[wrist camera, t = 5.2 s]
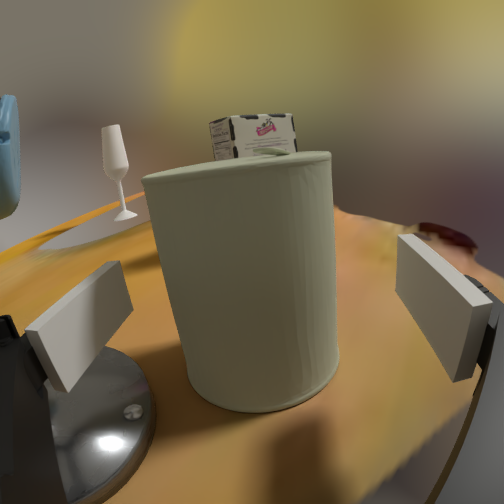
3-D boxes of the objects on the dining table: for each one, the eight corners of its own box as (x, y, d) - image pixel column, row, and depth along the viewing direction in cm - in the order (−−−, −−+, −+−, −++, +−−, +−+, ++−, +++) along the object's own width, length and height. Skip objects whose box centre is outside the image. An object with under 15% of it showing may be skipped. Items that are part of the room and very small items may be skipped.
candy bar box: (282, 222, 49) (270, 117, 44) (307, 226, 46) (295, 113, 40) (225, 243, 43) (207, 121, 37) (248, 248, 39) (230, 114, 34)
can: (364, 340, 18) (362, 139, 15) (274, 442, 12) (233, 151, 8) (255, 308, 25) (234, 150, 21) (159, 368, 18) (107, 174, 15)
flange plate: (-61, 478, 6) (-75, 462, 6) (18, 357, 19) (11, 343, 19) (137, 549, 7) (122, 538, 6) (170, 351, 20) (165, 334, 20)
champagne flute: (108, 221, 75) (92, 131, 68) (126, 214, 81) (112, 129, 73) (124, 220, 73) (108, 124, 65) (142, 213, 78) (128, 123, 71)
